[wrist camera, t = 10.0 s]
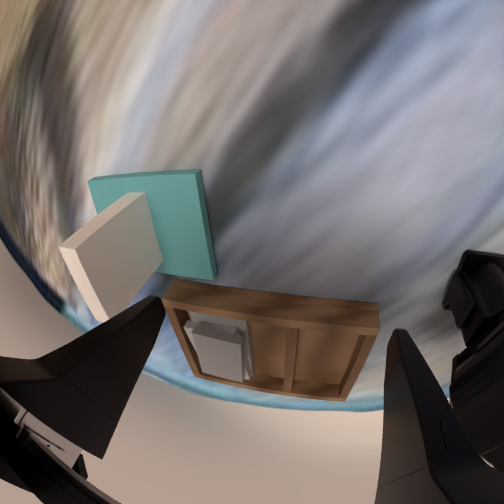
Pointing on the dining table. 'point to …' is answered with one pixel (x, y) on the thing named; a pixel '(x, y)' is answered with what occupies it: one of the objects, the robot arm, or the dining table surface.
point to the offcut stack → (222, 346)
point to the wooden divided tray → (284, 337)
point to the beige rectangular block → (114, 255)
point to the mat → (168, 216)
